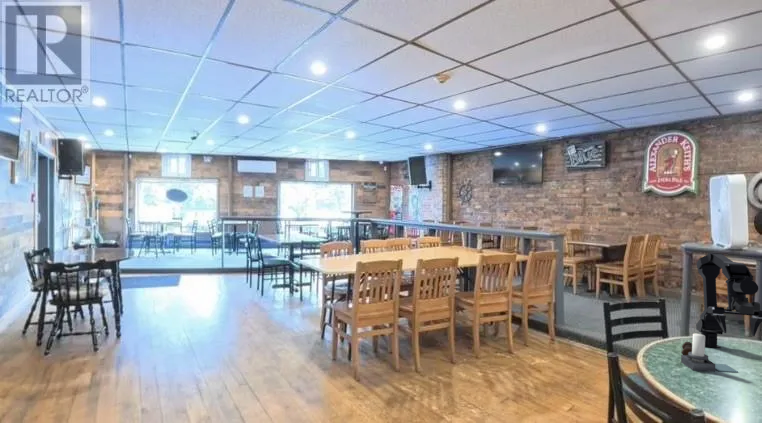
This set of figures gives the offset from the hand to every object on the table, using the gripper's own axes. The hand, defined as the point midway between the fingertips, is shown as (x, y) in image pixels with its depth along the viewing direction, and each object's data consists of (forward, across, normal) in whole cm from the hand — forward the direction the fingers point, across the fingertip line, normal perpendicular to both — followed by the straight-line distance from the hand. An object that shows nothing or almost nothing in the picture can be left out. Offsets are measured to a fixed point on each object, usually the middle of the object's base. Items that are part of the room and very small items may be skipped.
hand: (739, 334), depth 165 cm
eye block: (+14, -14, 0) cm, 20 cm away
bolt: (+11, -12, +14) cm, 22 cm away
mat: (+14, -6, +2) cm, 15 cm away
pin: (+14, -14, 0) cm, 20 cm away
